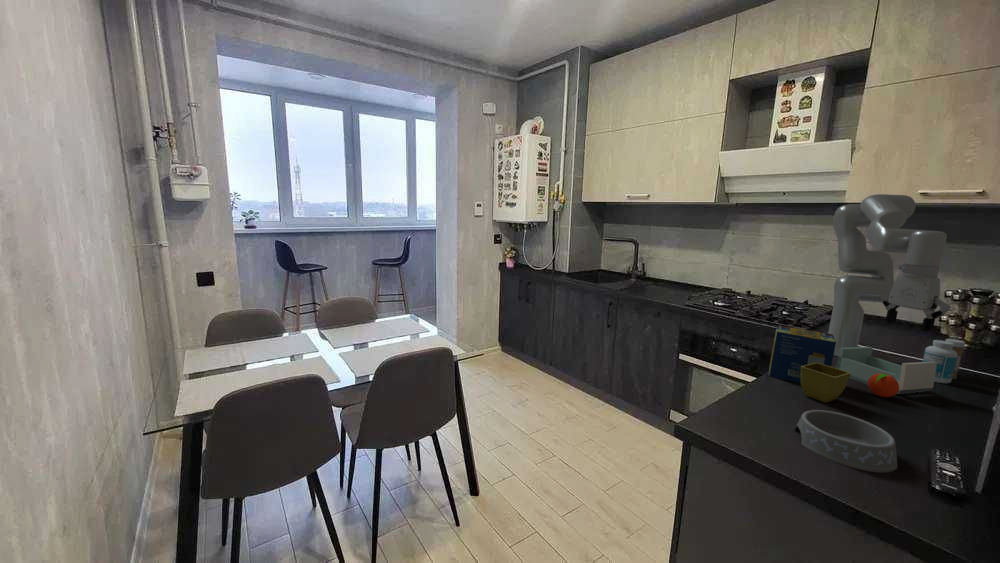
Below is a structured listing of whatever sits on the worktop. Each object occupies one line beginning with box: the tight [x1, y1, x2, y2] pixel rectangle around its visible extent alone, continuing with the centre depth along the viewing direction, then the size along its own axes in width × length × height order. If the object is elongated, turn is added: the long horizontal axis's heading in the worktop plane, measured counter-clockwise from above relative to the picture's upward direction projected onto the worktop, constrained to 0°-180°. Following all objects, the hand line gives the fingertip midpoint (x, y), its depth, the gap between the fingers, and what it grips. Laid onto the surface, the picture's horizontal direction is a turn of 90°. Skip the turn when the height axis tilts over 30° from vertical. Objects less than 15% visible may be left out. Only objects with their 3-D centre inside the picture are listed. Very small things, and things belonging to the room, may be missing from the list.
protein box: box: [768, 324, 836, 384], centre depth 131 cm, size 10×15×16 cm
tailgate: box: [898, 361, 937, 394], centre depth 122 cm, size 1×13×9 cm, turn 104°
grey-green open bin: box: [835, 346, 925, 395], centre depth 131 cm, size 17×13×9 cm
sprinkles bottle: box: [944, 338, 966, 380], centre depth 139 cm, size 5×5×13 cm
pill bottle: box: [922, 339, 958, 384], centre depth 136 cm, size 8×7×14 cm
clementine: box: [867, 373, 899, 398], centre depth 120 cm, size 8×7×7 cm
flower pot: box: [800, 363, 850, 404], centre depth 116 cm, size 9×9×9 cm
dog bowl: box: [794, 409, 898, 473], centre depth 91 cm, size 17×18×5 cm
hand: (907, 326), depth 124 cm, fingers open, 8 cm apart
